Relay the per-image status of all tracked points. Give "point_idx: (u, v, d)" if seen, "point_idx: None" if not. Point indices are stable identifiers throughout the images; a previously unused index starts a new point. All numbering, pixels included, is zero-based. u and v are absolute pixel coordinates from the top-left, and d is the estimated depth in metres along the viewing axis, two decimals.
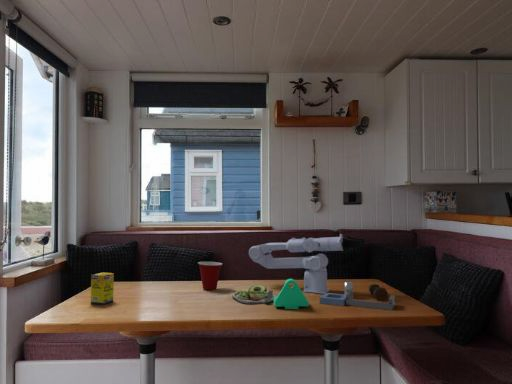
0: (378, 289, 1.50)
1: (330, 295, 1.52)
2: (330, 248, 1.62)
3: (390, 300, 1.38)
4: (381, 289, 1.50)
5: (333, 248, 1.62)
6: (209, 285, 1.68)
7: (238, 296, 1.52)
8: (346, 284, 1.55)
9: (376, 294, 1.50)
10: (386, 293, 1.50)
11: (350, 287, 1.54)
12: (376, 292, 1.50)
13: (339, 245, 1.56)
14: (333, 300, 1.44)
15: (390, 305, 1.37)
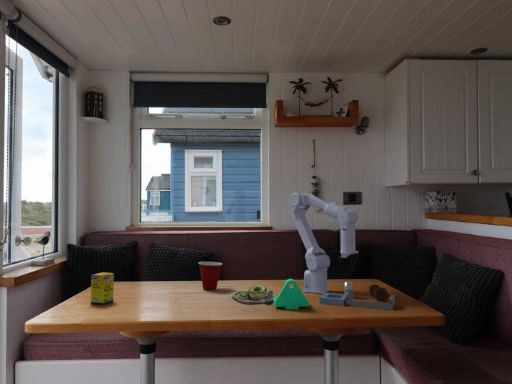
0: (378, 289, 1.50)
1: (330, 295, 1.52)
2: (342, 241, 1.55)
3: (390, 300, 1.38)
4: (381, 289, 1.50)
5: (342, 244, 1.55)
6: (209, 285, 1.68)
7: (238, 296, 1.52)
8: (346, 284, 1.55)
9: (376, 294, 1.50)
10: (386, 293, 1.50)
11: (350, 287, 1.54)
12: (376, 292, 1.50)
13: (343, 255, 1.50)
14: (333, 300, 1.44)
15: (390, 305, 1.37)
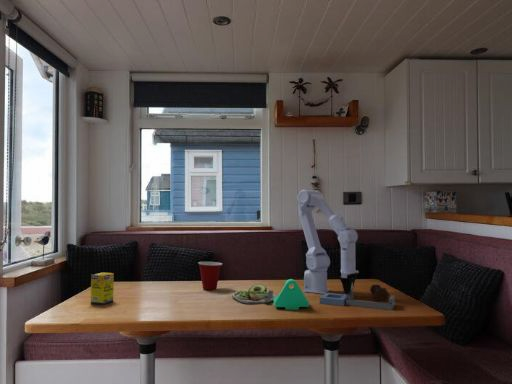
0: (379, 289, 1.50)
1: (330, 295, 1.52)
2: (342, 261, 1.55)
3: (390, 300, 1.38)
4: (382, 289, 1.50)
5: (342, 263, 1.55)
6: (209, 285, 1.68)
7: (238, 296, 1.52)
8: None
9: (376, 294, 1.50)
10: (387, 293, 1.49)
11: None
12: (377, 292, 1.50)
13: (343, 276, 1.50)
14: (333, 300, 1.44)
15: (390, 305, 1.37)
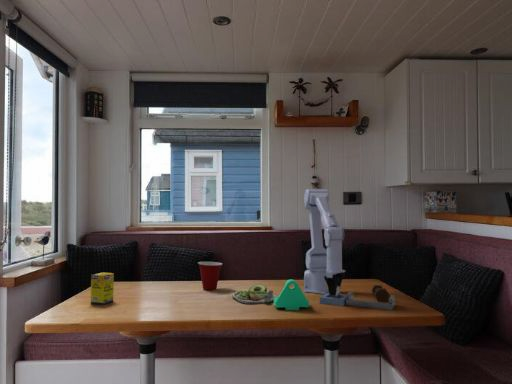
0: (379, 290, 1.49)
1: (330, 295, 1.52)
2: (328, 260, 1.47)
3: (390, 300, 1.38)
4: (382, 290, 1.49)
5: (328, 262, 1.47)
6: (209, 285, 1.68)
7: (238, 296, 1.52)
8: None
9: (377, 295, 1.49)
10: (387, 294, 1.48)
11: (337, 291, 1.47)
12: (377, 293, 1.49)
13: (328, 275, 1.42)
14: (333, 300, 1.44)
15: (390, 305, 1.37)
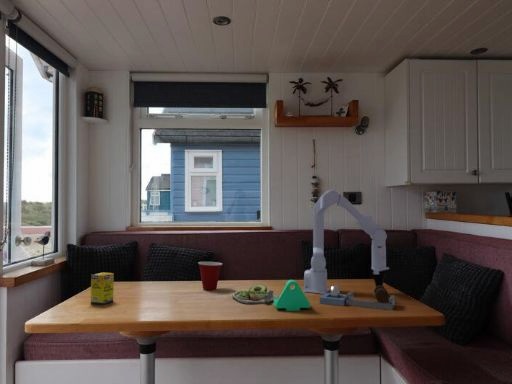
0: (379, 290, 1.47)
1: (330, 295, 1.52)
2: (373, 258, 1.62)
3: (390, 300, 1.38)
4: (382, 290, 1.47)
5: (373, 260, 1.62)
6: (209, 285, 1.68)
7: (238, 296, 1.52)
8: (333, 288, 1.47)
9: (377, 295, 1.47)
10: (387, 295, 1.47)
11: (337, 291, 1.47)
12: (377, 293, 1.48)
13: (375, 272, 1.56)
14: (333, 300, 1.44)
15: (390, 305, 1.37)
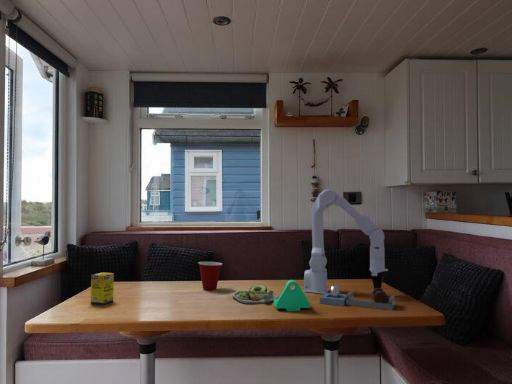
0: (378, 293, 1.44)
1: (330, 295, 1.52)
2: (372, 259, 1.58)
3: (390, 300, 1.38)
4: (381, 293, 1.43)
5: (371, 262, 1.58)
6: (209, 285, 1.68)
7: (238, 296, 1.52)
8: (333, 288, 1.47)
9: (375, 298, 1.44)
10: (386, 297, 1.43)
11: (337, 291, 1.47)
12: (375, 296, 1.44)
13: (373, 274, 1.53)
14: (333, 300, 1.44)
15: (390, 305, 1.37)
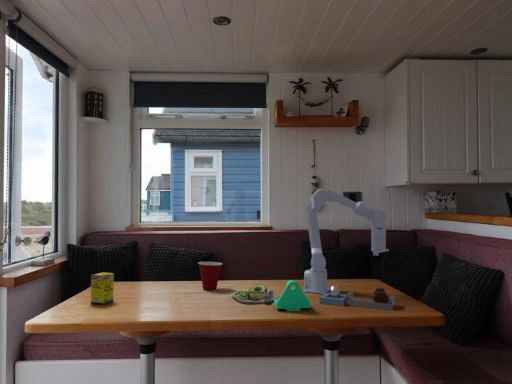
0: (378, 293, 1.43)
1: (330, 295, 1.52)
2: (373, 240, 1.62)
3: (390, 300, 1.38)
4: (381, 293, 1.43)
5: (373, 242, 1.62)
6: (209, 285, 1.68)
7: (238, 296, 1.52)
8: (333, 288, 1.47)
9: (375, 298, 1.43)
10: (386, 298, 1.42)
11: (337, 291, 1.47)
12: (375, 296, 1.43)
13: (375, 253, 1.57)
14: (333, 300, 1.44)
15: (390, 305, 1.37)
